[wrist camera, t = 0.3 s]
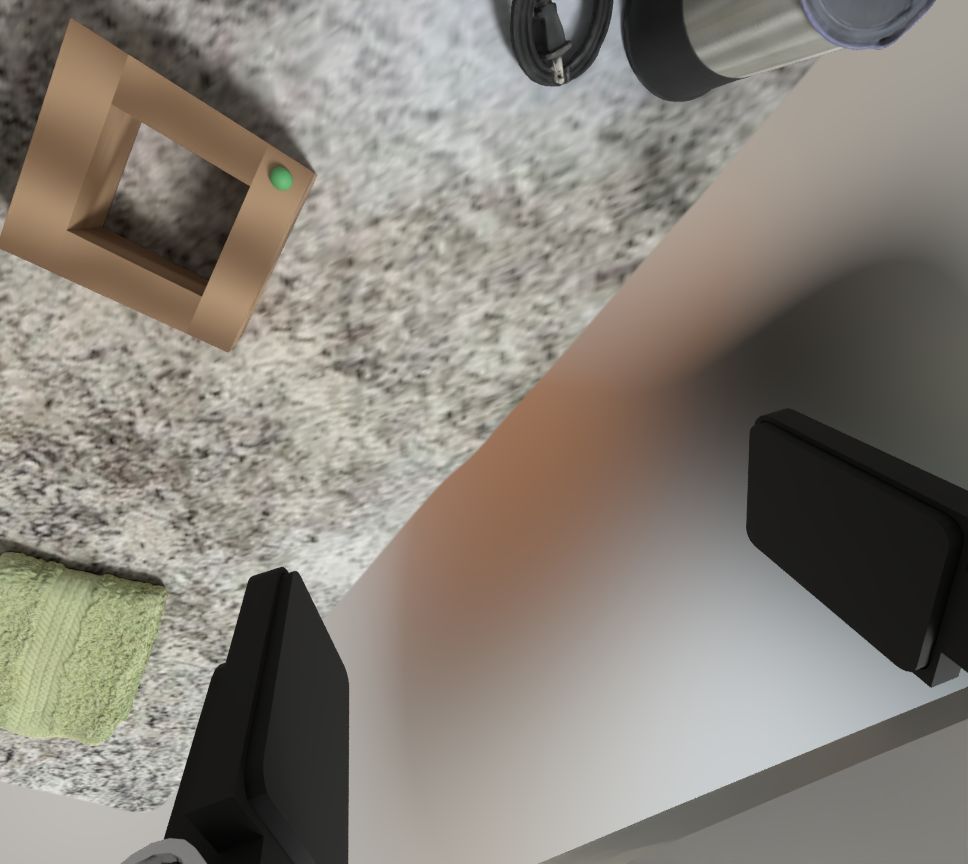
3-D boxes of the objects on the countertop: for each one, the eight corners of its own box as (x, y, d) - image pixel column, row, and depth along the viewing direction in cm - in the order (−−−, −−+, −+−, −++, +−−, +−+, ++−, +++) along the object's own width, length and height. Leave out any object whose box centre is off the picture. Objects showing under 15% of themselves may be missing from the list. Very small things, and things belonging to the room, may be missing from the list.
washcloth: (-51, 704, 42) (-80, 740, 39) (-2, 537, 38) (-31, 564, 35) (125, 725, 47) (111, 759, 44) (187, 580, 43) (175, 607, 40)
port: (110, 44, 28) (62, 12, 23) (317, 175, 33) (311, 170, 28) (42, 241, 31) (-12, 247, 26) (242, 335, 36) (225, 355, 31)
